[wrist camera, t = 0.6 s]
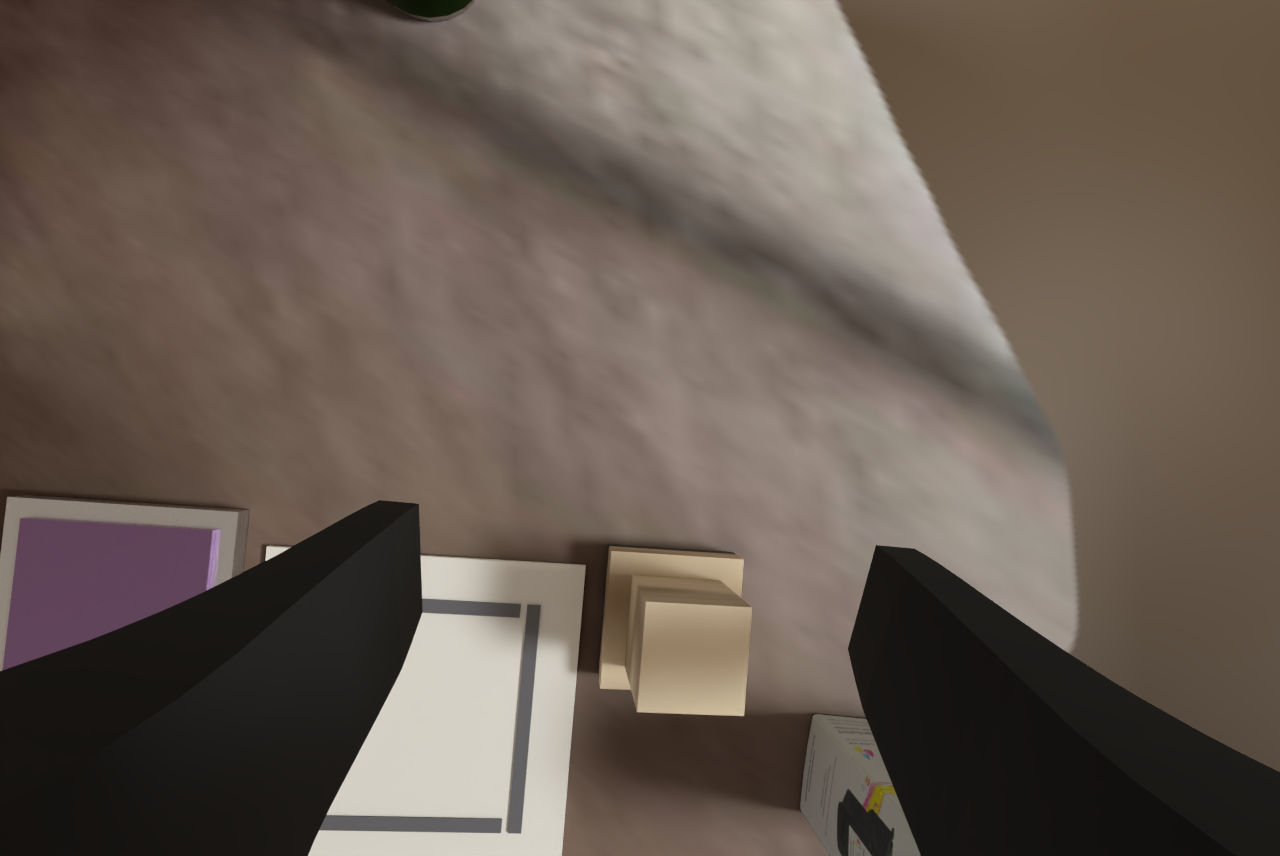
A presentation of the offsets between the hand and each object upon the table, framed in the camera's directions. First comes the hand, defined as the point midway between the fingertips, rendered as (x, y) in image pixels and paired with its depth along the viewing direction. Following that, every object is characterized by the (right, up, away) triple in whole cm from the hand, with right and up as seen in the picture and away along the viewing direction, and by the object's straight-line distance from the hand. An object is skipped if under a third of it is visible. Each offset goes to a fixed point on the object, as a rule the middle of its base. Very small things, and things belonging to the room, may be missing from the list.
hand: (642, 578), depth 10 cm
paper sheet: (-10, -10, +19) cm, 24 cm away
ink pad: (-22, -6, +18) cm, 29 cm away
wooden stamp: (+1, -6, +21) cm, 22 cm away
